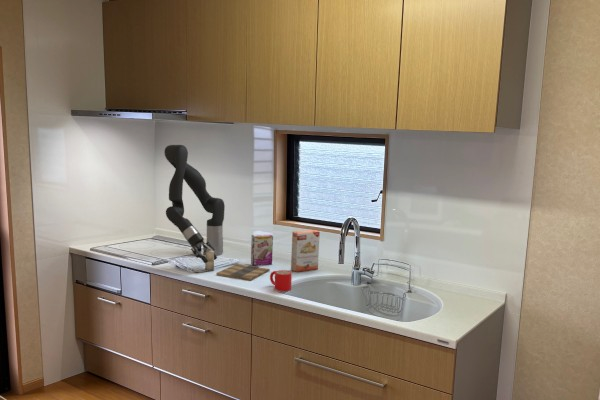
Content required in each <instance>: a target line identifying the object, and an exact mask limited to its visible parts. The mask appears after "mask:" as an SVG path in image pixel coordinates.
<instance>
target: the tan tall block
mask: <svg viewBox="0 0 600 400" xmlns="http://www.w3.org/2000/svg"><path fill="white" fill-rule="evenodd" d="M204 254H205V255H204V256H205V257H206V258H207V260H208V262H207V263H204V264H205V266H204V267H205V270H206V271H205V272H214V271H215V260H214V251H206V252H204Z"/></svg>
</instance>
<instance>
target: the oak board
mask: <svg viewBox="0 0 600 400" xmlns="http://www.w3.org/2000/svg"><path fill="white" fill-rule="evenodd" d="M269 272H270V268H266V267H260V266H257V265H256V266H253V265H246V264H239V263H235V264H234V265H231V266H229V267H227V268H224V269H222V270H220V271H218V272H216V276H217V277H219V276H220V277H225V278H232V279H237V280H238V279H239V280H244V281H250V282H251V281H253V280H254V281H255V279H257V278H259V277H261V276H264V275H265V274H267V273H269Z"/></svg>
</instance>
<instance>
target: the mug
mask: <svg viewBox="0 0 600 400" xmlns="http://www.w3.org/2000/svg"><path fill="white" fill-rule="evenodd" d="M292 273H293V272H292V271H290V270H287V269H286V270H285V269H281V270H273V271H271V273H270V275H269V280H270V283H271V284H272V285H273V286H274V290H276V291H279V292H288V291H291V290H292V281H293V279H292V277H293V276H292V275H293V274H292Z"/></svg>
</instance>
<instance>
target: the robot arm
mask: <svg viewBox="0 0 600 400" xmlns="http://www.w3.org/2000/svg"><path fill="white" fill-rule="evenodd" d="M188 155H189V151H188V149H187V147H186V146H185V145H183V144H169V145H167V146H166V147H165V148H164V157H165V159H166V160H167V162H169V163H170V165H171V166H172V167H173V168H174V169H175V171H174V173H173V175H172V178H171V180H170V182H169V186H168V200H169V201H170V202H171V206H168V207H167V208H166V209H165V215H166V218H167V219H168V221H170V222H171V223H172V224H173V225H174V226H175V227H176V228H177V229H178V231H180V232H181V234H182V236H183V237H184V239H185V240H186V241H187V243H188V244H189V245H190V247H191V248H190V250H191V252H192V254H193V255H194V256H195V257H196V259H201V261H202V262H203V263H204V264H205V263H207V262H208V260H207V258H206V257H205V255H204V253H205V252H206V251H214V261H216V260H217V259H218V256H221V255H223V253H224V235H223V231H224V230H223V229H224V228H223V227H224V226H223V225H224V221H225V207H226V206H225V201H224V200H223V199H222V198H221V197H220V198H219V197H213V196H211V195H210V193H209V192H208V190H207V183H206V180H205V178H204V176H203V175H202V174H201V172H199V170H198V169H196V168H195V167H194V166H192V165H190V164H189V163H188ZM184 182H185V183H186V185H188V187H189V188H190V190H191V192H193V193H194V195H195V196H196V198H197V199H198V200H199V202H200V204H201V207H202V208H203V209H204V210H205V212H207V213H209V214H211V216H212V217H211V218H209V219H207V220H206V242H205V239H204V237H203V236H202V234H201V233H200V232H199V230H198V229H197V228H196V227H195V226H194V225H193V223H192V222H191V220H189V219H188V218H185V217H184V213H185V206H184V200H183V185H184Z"/></svg>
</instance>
